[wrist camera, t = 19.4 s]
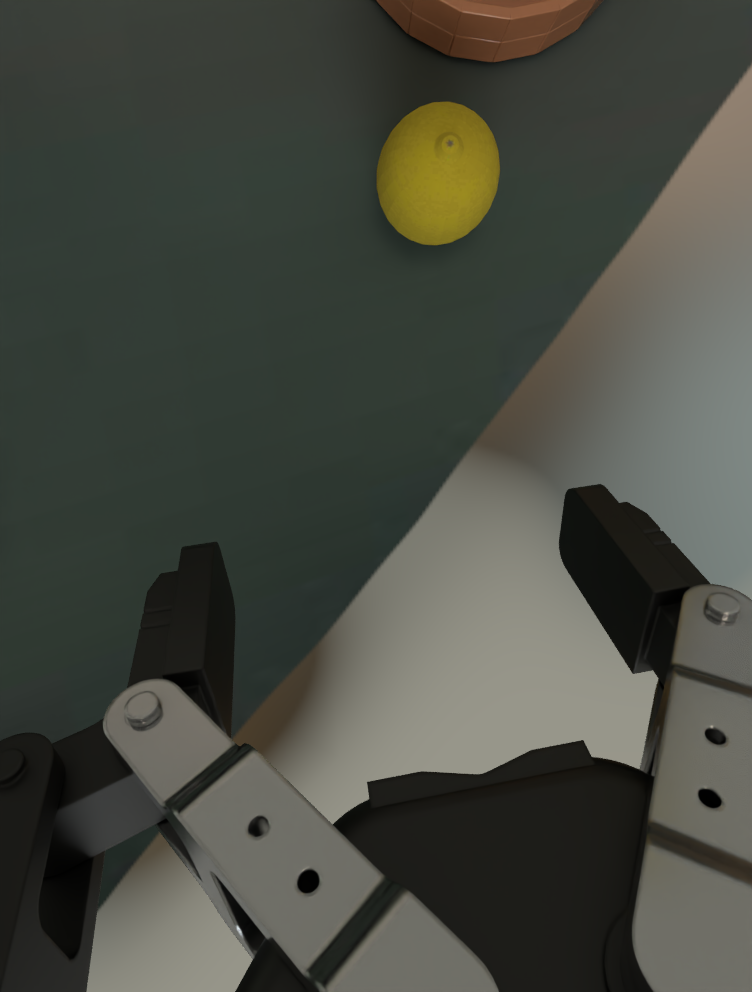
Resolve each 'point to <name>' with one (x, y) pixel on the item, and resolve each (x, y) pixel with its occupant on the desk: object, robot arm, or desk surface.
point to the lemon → (438, 173)
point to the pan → (489, 25)
